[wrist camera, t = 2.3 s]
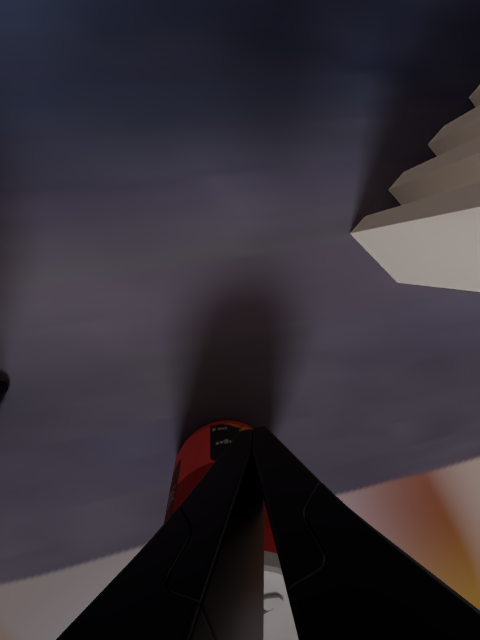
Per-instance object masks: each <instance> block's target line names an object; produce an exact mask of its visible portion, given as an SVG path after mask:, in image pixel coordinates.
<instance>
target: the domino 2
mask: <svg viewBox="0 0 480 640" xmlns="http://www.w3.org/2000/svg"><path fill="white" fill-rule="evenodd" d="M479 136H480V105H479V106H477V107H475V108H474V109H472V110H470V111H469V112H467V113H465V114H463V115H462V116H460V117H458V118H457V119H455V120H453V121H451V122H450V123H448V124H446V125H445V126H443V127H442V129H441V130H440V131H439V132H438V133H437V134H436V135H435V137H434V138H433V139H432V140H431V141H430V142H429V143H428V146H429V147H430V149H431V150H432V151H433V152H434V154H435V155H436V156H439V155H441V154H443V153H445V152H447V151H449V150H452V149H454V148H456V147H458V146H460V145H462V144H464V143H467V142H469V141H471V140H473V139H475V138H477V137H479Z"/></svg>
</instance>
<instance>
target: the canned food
mask: <svg viewBox="0 0 480 640" xmlns="http://www.w3.org/2000/svg"><path fill="white" fill-rule="evenodd" d="M247 429H252V430H253V429H254V428H252V427H251V426H249V425H247V424H245V423H242V422H238V421H231V420H224V421H217V422H213V423H209V424H207V425H205V426H203V427H201V428H199V429H198V430H196V431H195V432H194V433H193V434H192V435H191V436H189V437H188V439H187V440H186V442H185V443H184V444H183V446H182V447H181V449H180V451H179V453H178V455H177V457H176V462H175V467H174V472H173V477H172V483H171V488H170V494H169V499H168V504H167V510H166V515H165V521H164V523H165V522H166V521H167V520H168V519H169V517H170V516H171V515H172V514H173V513H174V511H175V510H176V509H177V508H178V507H180V505H181V503H182V502H183V501H184V500H185V499H186V497H187V496H188V495H189V494H190V492H191V491H192V490H193V489H194V487H195V486H196V485H197V484H198V482H199V481H200V480H201V479H202V478H203V476H204V475H205V474H206V473H207V471H208V470H209V469H210V468H211V466H212V465H213V464H214V463H215V461H216V460H217V459H218V458H219V456H220V455H221V454H222V453H223V452H224V450H225V449H226V448H227V447H228V445H229V444H230V443H231V442H232V440H233V439H234V438H235V437H236V435H237V434H238V433H239V432H240V431H241V430H247ZM263 640H299V639H298V635H297V631H296V627H295V623H294V619H293V615H292V611H291V607H290V603H289V599H288V595H287V591H286V587H285V583H284V579H283V575H282V571H281V566H280V562H279V558H278V554H277V550H276V546H275V542H274V538H273V534H272V530H271V526H270V522H269V518H268V514H267V510H266V506H265V502H264V637H263Z"/></svg>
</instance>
